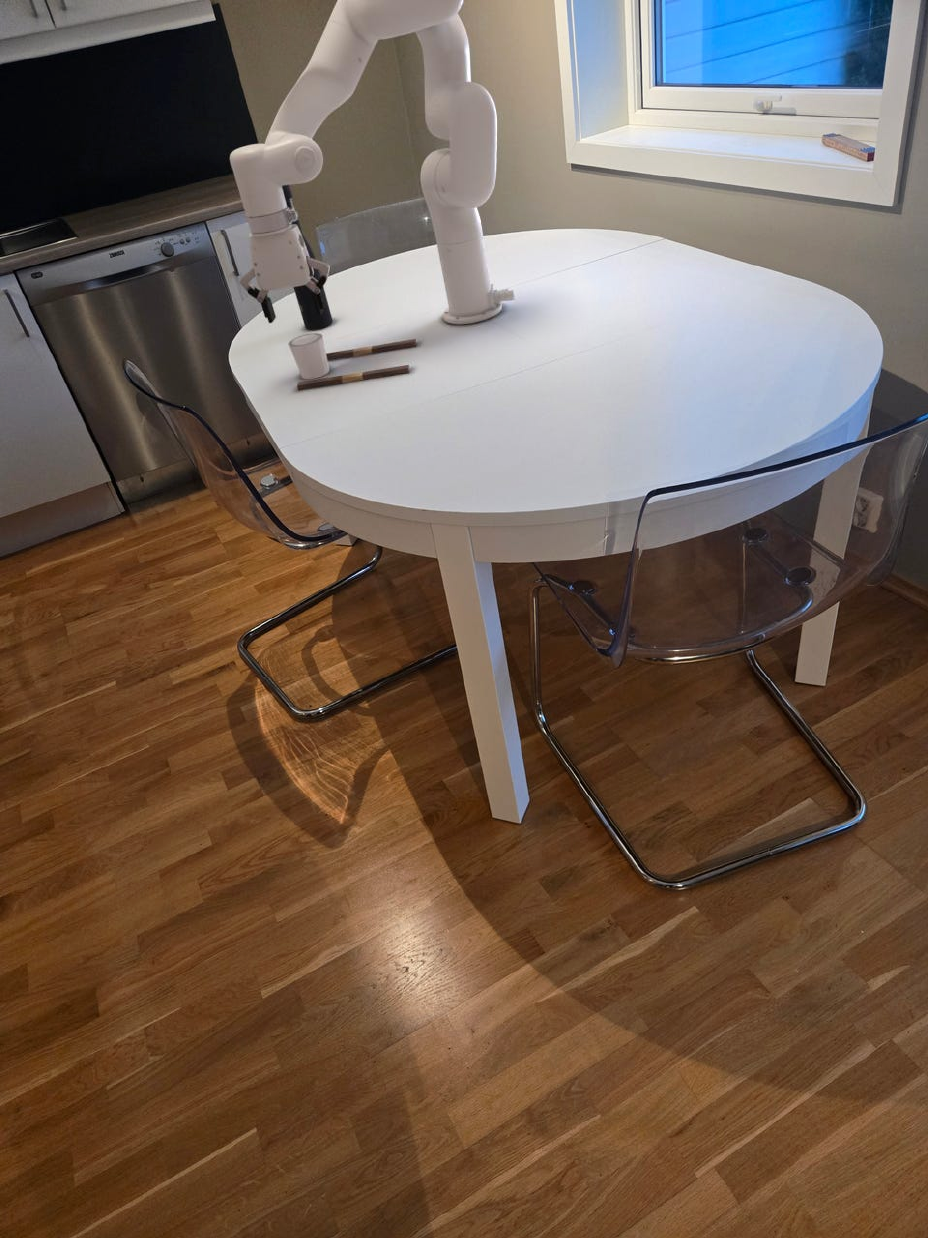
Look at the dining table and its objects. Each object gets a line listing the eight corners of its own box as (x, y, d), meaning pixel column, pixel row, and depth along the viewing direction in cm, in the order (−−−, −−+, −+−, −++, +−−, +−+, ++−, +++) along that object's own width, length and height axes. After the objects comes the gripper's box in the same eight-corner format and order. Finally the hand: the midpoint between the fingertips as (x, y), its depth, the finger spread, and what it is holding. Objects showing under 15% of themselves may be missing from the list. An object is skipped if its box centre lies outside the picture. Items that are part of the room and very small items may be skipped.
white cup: (325, 378, 171) (315, 344, 166) (293, 382, 173) (282, 347, 168) (336, 364, 176) (327, 330, 172) (305, 367, 178) (295, 334, 174)
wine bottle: (338, 319, 199) (299, 176, 182) (323, 330, 195) (282, 185, 177) (315, 319, 202) (275, 179, 184) (300, 330, 198) (257, 188, 180)
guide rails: (416, 343, 177) (415, 338, 177) (408, 372, 165) (407, 367, 165) (313, 360, 180) (311, 355, 180) (298, 390, 169) (296, 385, 168)
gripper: (320, 209, 159) (343, 303, 169) (230, 225, 161) (258, 317, 171) (312, 219, 153) (336, 316, 163) (218, 235, 155) (248, 330, 166)
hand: (296, 316), depth 167 cm, fingers open, 9 cm apart
